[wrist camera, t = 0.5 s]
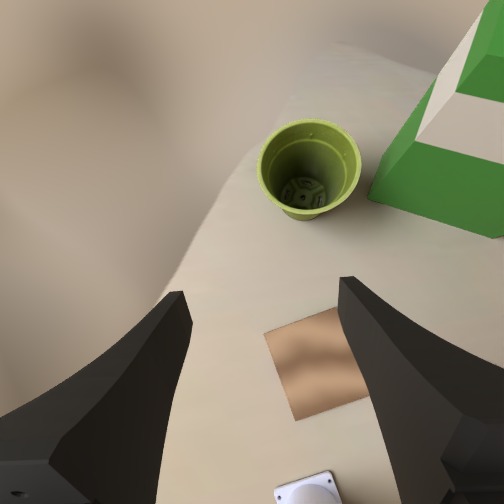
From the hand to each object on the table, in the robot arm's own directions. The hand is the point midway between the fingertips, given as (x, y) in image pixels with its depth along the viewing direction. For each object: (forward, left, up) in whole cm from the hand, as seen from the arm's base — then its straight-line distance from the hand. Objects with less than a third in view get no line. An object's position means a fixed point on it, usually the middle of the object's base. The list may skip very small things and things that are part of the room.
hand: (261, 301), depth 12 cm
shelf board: (-10, -2, -27) cm, 29 cm away
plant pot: (+13, -9, -27) cm, 32 cm away
